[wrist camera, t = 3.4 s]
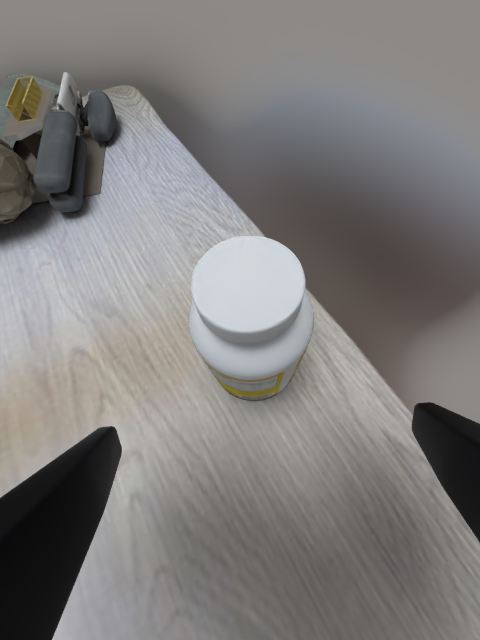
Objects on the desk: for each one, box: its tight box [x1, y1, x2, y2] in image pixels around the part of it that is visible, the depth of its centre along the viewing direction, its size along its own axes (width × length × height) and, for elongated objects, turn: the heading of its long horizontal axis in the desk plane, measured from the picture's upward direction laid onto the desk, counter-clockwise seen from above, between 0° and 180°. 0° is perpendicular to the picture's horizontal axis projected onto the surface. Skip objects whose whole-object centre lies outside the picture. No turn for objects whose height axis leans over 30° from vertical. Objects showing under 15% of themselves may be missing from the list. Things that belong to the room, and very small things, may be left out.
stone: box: [0, 74, 61, 149], centre depth 34 cm, size 17×6×10 cm
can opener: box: [33, 72, 116, 212], centre depth 31 cm, size 19×5×6 cm
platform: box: [3, 76, 106, 203], centre depth 32 cm, size 12×18×7 cm, turn 8°
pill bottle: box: [189, 236, 314, 401], centre depth 16 cm, size 6×6×12 cm
